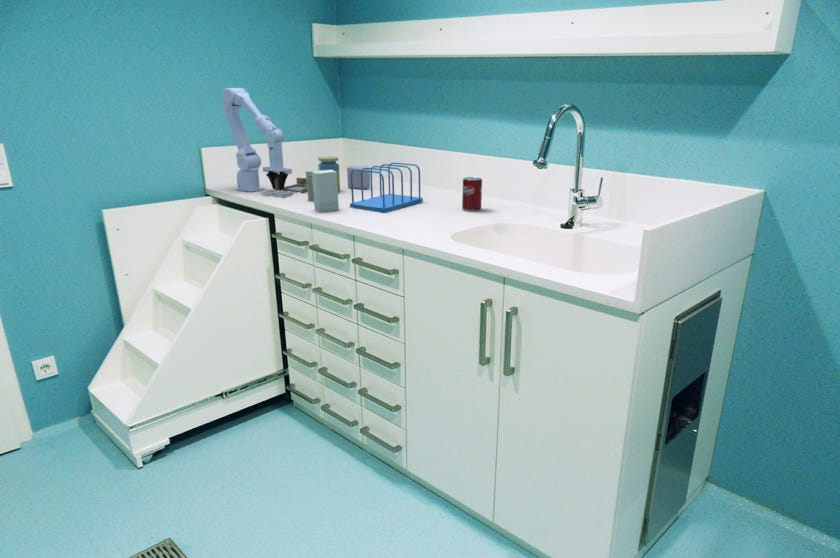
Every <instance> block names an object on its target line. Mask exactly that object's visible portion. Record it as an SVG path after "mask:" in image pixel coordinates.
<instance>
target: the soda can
mask: <svg viewBox="0 0 840 558" xmlns="http://www.w3.org/2000/svg"><path fill="white" fill-rule="evenodd" d="M482 193H483V179H482V178H481V177H477V176H468V177H464V178H463V179H462V197H461V198H462V201H461V207H462V210H463V211H464V212H480V211H481V209H482V197H483V196H482Z"/></svg>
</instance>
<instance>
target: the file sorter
mask: <svg viewBox="0 0 840 558" xmlns="http://www.w3.org/2000/svg"><path fill="white" fill-rule="evenodd" d="M409 166H412V167H413V166H414V167H416V168H417V171H418V172H417V173H418V196H413V172H412V169H411V168H410V167H409ZM367 167H368V166H367ZM367 167H366V168H363V169H362V170H359V169H355V170H353V171H352V172H351V188H350V189H351V202H350V203H349V208H351V207H354V208H353V209H358V208H360V209H359V210H365V209H366V210H365V211H371V210H372V212H377V211H378V213H388V212H392V211H394V210H398V209H401V208H406V207H409V206H412V205H415V204H420V203H423V201H424V200H423V197H421V169H420V166H418V164H415V163H405V162H390V163H388V164H387V163H383V164H381V165H373V166H372V167H369V168H367ZM400 168H405V169H408V170H409V174H410V175H409V177H410V179H409V181H410V183H409V184H410V186H409V188H410V190H409V191H410V195H404V178H403V177H404V176H403V171H402V170H401V169H400ZM364 169H370V170H364ZM391 170H398V171H399V172H400V183H401V184H400V186H401V189H400V190H401V194H397V193H396V194H395V179H394V176H395V175H394V173H393V172H392V171H391ZM354 171H361V189H360V190H361V200H358V201H355V199H354V188H353V178H352V174H353V172H354ZM363 171H364V172H370V198H366V199H364V189H363ZM382 171H385V172H387V173H388V174H387V175H388V193H387V194H385V179H384V175H383V173H382ZM373 173H375V174H379V196H375V197H373V195H374V194H373ZM391 179H392V180H391ZM391 186H392V187H391ZM391 188H392V189H391ZM391 192H392V193H391Z"/></svg>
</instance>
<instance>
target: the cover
mask: <svg viewBox="0 0 840 558" xmlns="http://www.w3.org/2000/svg"><path fill="white" fill-rule="evenodd" d="M295 179H296V180H295V181H296V184H297V185H300V186H304V187H307V181H306V177H296V178H295Z"/></svg>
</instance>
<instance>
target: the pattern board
mask: <svg viewBox="0 0 840 558" xmlns="http://www.w3.org/2000/svg"><path fill="white" fill-rule="evenodd" d="M282 191H290V192H293V193H297V192H300V194H306V192H307V186H300V185H297V183H296V184H291V185H287V186H284V189H283V190H282ZM307 193H308V192H307Z"/></svg>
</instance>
